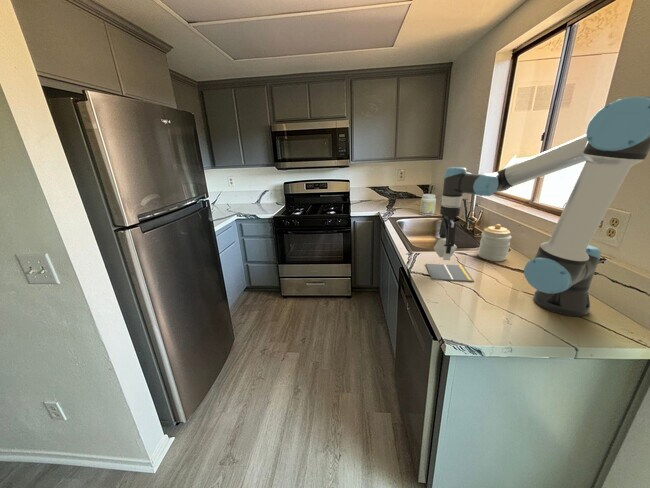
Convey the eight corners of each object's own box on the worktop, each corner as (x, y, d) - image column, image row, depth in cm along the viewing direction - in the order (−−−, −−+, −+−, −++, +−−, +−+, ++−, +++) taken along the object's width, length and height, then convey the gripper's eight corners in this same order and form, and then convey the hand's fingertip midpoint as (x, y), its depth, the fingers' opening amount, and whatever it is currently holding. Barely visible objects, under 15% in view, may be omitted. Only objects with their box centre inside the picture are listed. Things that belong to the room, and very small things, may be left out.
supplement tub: (424, 212, 237) (426, 193, 232) (437, 214, 229) (439, 194, 223) (416, 214, 230) (418, 194, 224) (429, 216, 221) (432, 196, 216)
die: (449, 253, 123) (437, 236, 123) (464, 250, 115) (451, 231, 115) (438, 263, 120) (426, 245, 120) (452, 260, 112) (440, 241, 112)
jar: (512, 261, 132) (520, 227, 126) (486, 261, 132) (492, 227, 126) (497, 252, 144) (503, 220, 138) (472, 252, 145) (478, 220, 139)
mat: (474, 282, 113) (474, 280, 113) (431, 279, 116) (431, 278, 116) (463, 266, 128) (463, 265, 127) (425, 264, 131) (425, 263, 131)
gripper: (468, 211, 100) (459, 266, 108) (453, 201, 121) (446, 247, 128) (447, 211, 102) (440, 265, 109) (436, 200, 122) (430, 246, 130)
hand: (443, 255), depth 119 cm, fingers closed on die, 9 cm apart
